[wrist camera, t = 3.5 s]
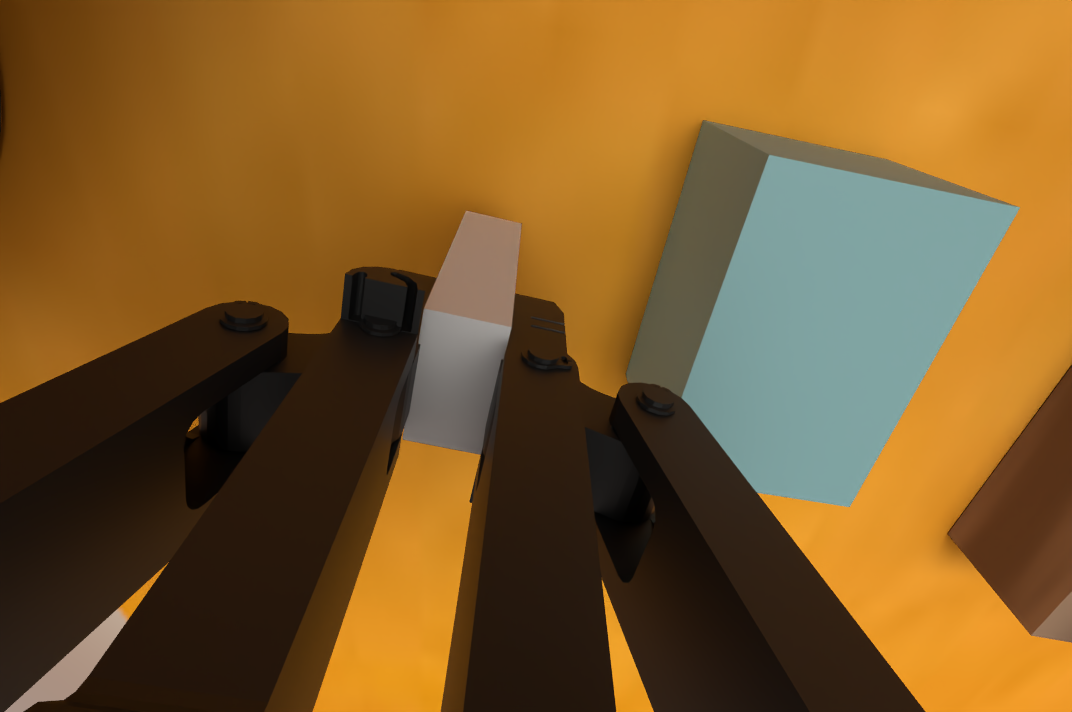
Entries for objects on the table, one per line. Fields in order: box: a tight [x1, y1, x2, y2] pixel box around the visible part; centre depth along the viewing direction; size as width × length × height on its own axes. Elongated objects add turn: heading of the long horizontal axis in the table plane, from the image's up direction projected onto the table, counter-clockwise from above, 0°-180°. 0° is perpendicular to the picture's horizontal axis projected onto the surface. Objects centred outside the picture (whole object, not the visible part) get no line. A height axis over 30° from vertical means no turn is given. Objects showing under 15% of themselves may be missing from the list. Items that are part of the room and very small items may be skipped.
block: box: [626, 120, 1020, 507], centre depth 18 cm, size 6×9×6 cm, turn 169°
